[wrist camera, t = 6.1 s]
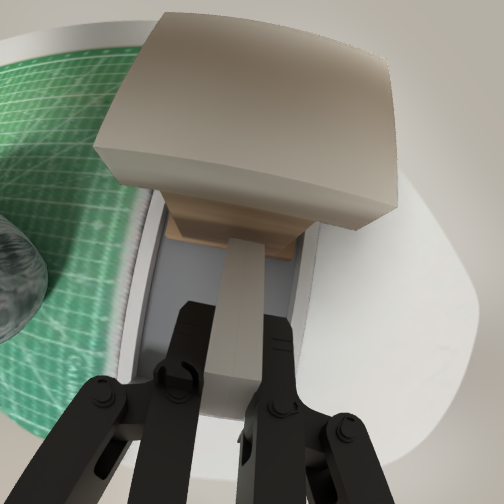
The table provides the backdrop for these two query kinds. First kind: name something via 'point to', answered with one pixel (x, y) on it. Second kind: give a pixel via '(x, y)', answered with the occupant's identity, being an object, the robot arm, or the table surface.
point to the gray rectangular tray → (199, 291)
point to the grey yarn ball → (19, 280)
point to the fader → (254, 131)
